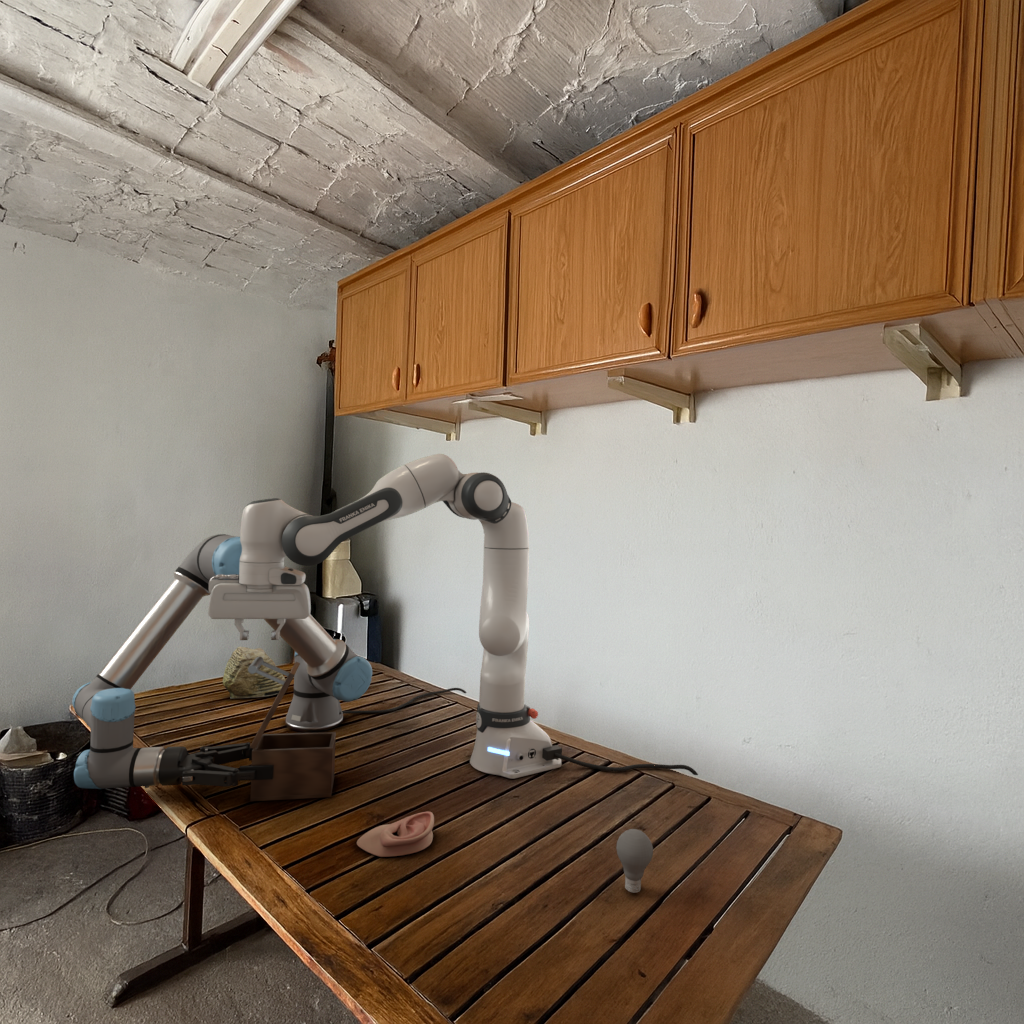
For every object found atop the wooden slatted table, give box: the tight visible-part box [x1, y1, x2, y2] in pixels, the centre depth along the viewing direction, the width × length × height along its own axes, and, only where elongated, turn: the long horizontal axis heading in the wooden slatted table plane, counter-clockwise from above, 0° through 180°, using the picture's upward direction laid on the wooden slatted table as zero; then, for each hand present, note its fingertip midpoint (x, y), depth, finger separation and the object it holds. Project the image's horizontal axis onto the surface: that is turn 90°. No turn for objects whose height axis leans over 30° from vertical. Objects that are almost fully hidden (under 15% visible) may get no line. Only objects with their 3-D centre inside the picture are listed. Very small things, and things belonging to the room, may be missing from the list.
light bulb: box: [615, 828, 654, 894], centre depth 106 cm, size 6×6×10 cm
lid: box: [248, 657, 300, 749], centre depth 135 cm, size 17×9×9 cm
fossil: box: [222, 646, 286, 699], centre depth 198 cm, size 9×18×15 cm, turn 132°
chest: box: [249, 731, 337, 802], centre depth 137 cm, size 16×9×10 cm, turn 102°
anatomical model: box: [356, 811, 435, 858], centre depth 118 cm, size 13×4×12 cm
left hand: (276, 761), depth 136 cm, fingers closed on chest, 9 cm apart
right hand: (259, 639), depth 134 cm, fingers open, 5 cm apart
